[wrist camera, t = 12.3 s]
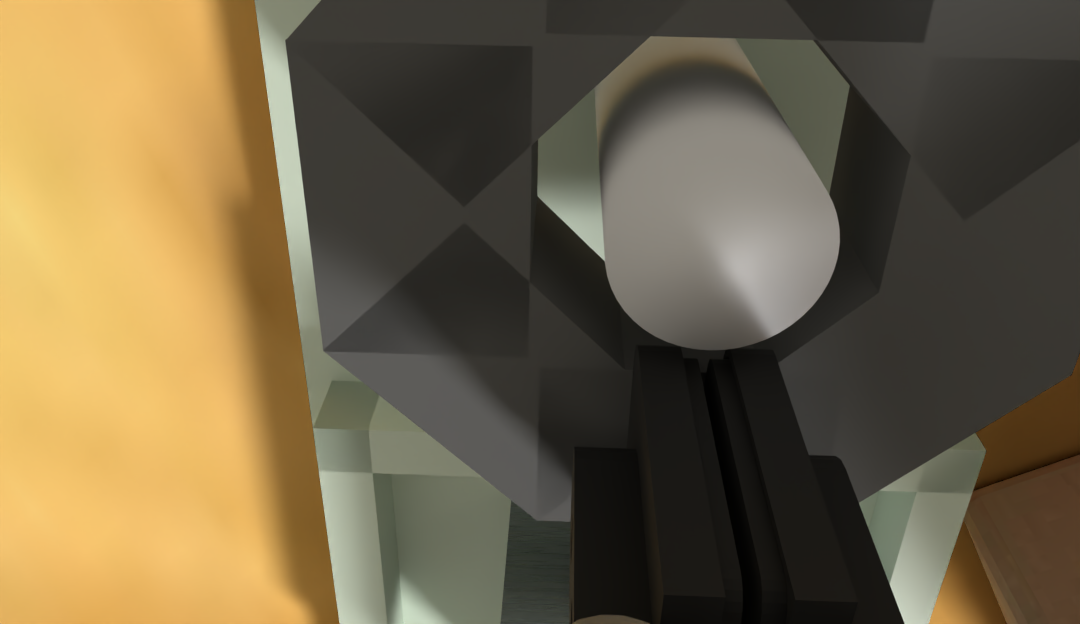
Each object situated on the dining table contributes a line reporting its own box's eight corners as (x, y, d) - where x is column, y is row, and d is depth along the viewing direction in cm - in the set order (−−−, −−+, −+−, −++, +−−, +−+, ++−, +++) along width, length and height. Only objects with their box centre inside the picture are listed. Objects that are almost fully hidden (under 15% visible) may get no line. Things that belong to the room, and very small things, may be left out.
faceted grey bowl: (946, 423, 14) (1010, 536, 12) (376, 405, 15) (342, 514, 13) (1147, -244, 10) (1305, -250, 8) (316, -260, 10) (245, -269, 8)
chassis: (844, 700, 25) (946, 1050, 18) (371, 681, 25) (295, 1020, 19) (1113, -238, 14) (1635, -244, 7) (262, -253, 14) (-31, -275, 7)
